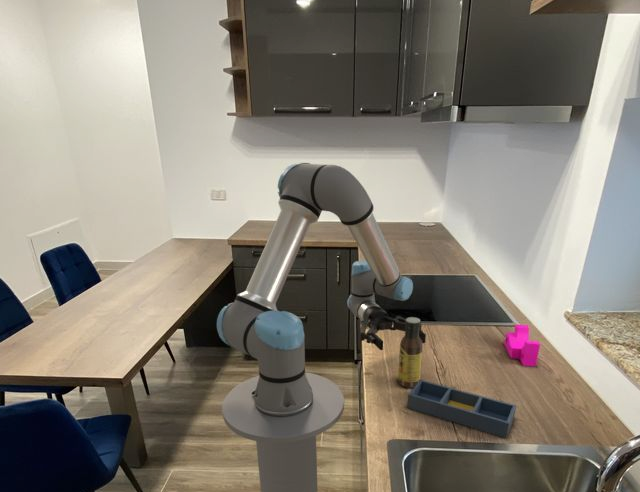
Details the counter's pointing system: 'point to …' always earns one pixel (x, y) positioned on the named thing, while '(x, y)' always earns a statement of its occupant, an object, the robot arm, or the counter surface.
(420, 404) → the compartment tray
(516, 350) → the toy block
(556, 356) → the counter surface
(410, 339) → the sauce bottle
